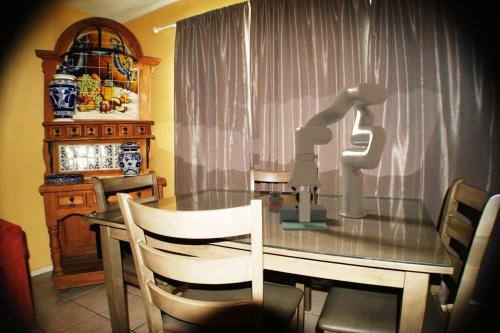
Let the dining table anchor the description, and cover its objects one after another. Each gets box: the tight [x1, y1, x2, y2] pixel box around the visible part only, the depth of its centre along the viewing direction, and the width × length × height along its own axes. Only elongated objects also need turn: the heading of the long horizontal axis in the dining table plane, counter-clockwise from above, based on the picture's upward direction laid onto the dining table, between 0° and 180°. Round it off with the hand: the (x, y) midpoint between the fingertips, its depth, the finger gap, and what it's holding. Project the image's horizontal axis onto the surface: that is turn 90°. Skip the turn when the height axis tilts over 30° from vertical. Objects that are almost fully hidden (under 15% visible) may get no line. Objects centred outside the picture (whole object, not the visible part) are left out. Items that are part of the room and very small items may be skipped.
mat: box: [281, 222, 329, 231], centre depth 117 cm, size 18×8×1 cm, turn 86°
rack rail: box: [278, 204, 328, 224], centre depth 126 cm, size 20×9×6 cm, turn 86°
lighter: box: [267, 191, 284, 214], centre depth 142 cm, size 8×3×10 cm, turn 62°
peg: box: [297, 190, 311, 222], centre depth 116 cm, size 4×4×12 cm
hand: (304, 201), depth 116 cm, fingers closed on peg, 4 cm apart
